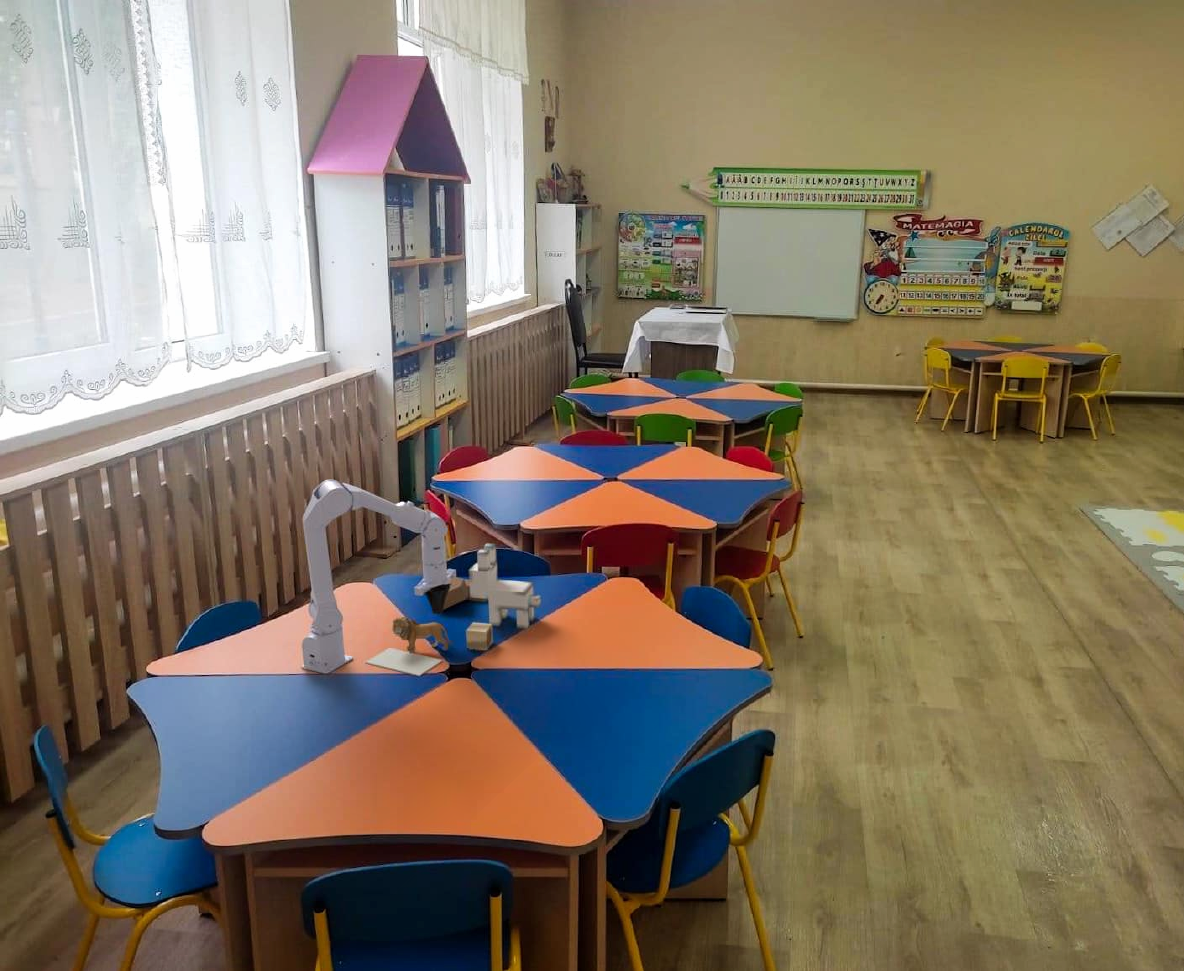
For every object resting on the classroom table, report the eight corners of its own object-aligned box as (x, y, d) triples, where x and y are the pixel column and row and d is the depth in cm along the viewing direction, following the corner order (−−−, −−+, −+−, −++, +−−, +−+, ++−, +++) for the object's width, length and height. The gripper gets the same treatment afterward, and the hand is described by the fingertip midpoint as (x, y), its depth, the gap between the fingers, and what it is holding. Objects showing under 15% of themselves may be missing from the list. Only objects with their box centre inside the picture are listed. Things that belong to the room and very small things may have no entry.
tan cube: (486, 650, 238) (486, 632, 237) (467, 649, 239) (466, 630, 238) (493, 642, 243) (492, 624, 242) (473, 641, 244) (472, 622, 243)
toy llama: (535, 629, 250) (533, 556, 245) (471, 624, 254) (467, 551, 249) (543, 618, 257) (541, 546, 252) (481, 613, 261) (478, 542, 256)
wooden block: (491, 601, 278) (475, 617, 260) (447, 594, 279) (427, 609, 262) (495, 576, 277) (478, 590, 259) (450, 569, 278) (430, 582, 261)
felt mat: (419, 676, 225) (419, 675, 225) (365, 663, 232) (365, 662, 232) (442, 661, 233) (442, 660, 233) (389, 648, 240) (389, 647, 240)
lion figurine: (394, 656, 234) (392, 621, 233) (392, 649, 239) (390, 614, 237) (455, 649, 238) (454, 614, 237) (451, 642, 243) (450, 608, 242)
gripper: (429, 573, 231) (433, 626, 235) (464, 555, 243) (467, 605, 247) (406, 569, 234) (409, 621, 238) (441, 551, 247) (445, 601, 250)
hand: (437, 613), depth 243 cm, fingers closed
